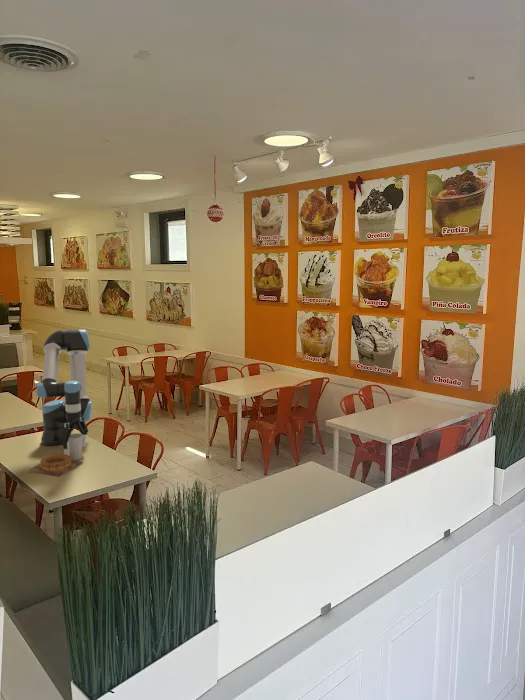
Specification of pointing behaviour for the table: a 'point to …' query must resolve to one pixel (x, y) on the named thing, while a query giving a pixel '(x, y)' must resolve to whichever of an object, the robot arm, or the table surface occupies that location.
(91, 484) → the table surface
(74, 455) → the cup
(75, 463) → the collar board
